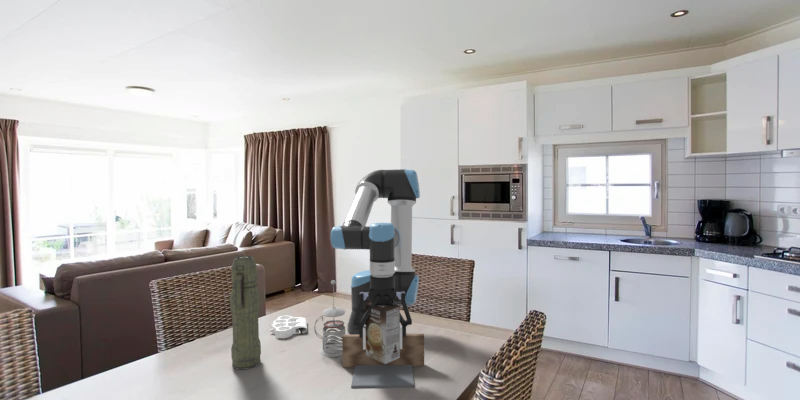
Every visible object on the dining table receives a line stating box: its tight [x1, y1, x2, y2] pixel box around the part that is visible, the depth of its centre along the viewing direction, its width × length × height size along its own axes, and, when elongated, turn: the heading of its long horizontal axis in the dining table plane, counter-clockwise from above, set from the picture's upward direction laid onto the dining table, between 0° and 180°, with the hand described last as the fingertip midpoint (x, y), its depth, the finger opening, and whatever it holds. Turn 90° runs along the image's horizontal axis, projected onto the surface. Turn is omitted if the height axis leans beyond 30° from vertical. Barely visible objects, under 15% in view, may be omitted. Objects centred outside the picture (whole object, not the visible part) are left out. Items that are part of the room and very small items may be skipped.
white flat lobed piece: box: [268, 315, 308, 339], centre depth 161 cm, size 3×18×15 cm
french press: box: [313, 279, 346, 358], centre depth 140 cm, size 10×12×25 cm
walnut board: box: [341, 333, 425, 368], centre depth 128 cm, size 26×2×10 cm, turn 91°
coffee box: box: [366, 302, 401, 364], centre depth 121 cm, size 9×6×16 cm
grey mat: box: [350, 365, 415, 389], centre depth 122 cm, size 18×13×1 cm
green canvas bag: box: [229, 255, 262, 370], centre depth 130 cm, size 9×12×35 cm
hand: (382, 347), depth 121 cm, fingers closed on coffee box, 10 cm apart
